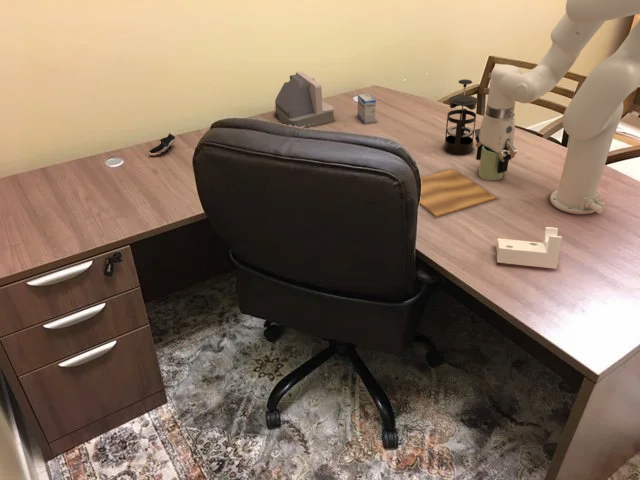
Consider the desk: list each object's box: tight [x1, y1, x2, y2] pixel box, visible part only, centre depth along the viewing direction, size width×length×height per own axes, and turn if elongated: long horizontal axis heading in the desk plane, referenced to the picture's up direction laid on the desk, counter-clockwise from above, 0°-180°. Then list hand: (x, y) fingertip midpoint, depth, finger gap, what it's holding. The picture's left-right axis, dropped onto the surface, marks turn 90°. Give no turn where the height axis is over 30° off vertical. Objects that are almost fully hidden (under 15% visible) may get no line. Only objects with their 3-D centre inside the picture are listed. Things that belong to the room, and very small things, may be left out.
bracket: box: [495, 226, 563, 270], centre depth 125 cm, size 13×7×8 cm, turn 76°
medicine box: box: [357, 93, 377, 124], centre depth 200 cm, size 8×4×9 cm, turn 17°
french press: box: [443, 78, 479, 156], centre depth 172 cm, size 12×9×23 cm
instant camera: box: [274, 71, 335, 129], centre depth 203 cm, size 21×21×15 cm
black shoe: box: [148, 132, 177, 157], centre depth 187 cm, size 11×4×7 cm
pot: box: [478, 145, 506, 181], centre depth 159 cm, size 7×7×9 cm
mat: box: [419, 168, 497, 218], centre depth 155 cm, size 20×20×1 cm
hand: (490, 165), depth 160 cm, fingers open, 9 cm apart
